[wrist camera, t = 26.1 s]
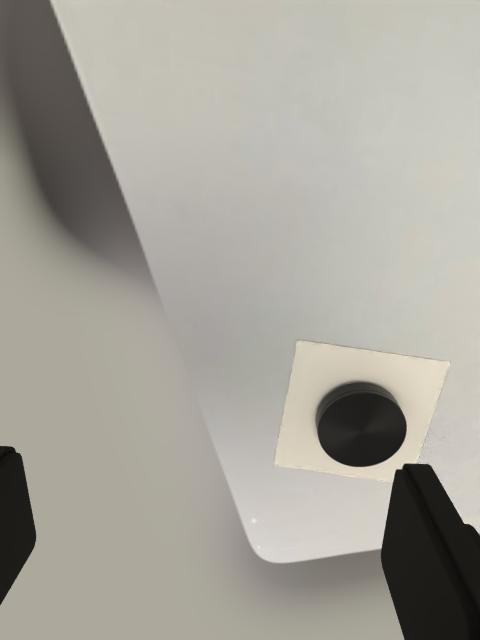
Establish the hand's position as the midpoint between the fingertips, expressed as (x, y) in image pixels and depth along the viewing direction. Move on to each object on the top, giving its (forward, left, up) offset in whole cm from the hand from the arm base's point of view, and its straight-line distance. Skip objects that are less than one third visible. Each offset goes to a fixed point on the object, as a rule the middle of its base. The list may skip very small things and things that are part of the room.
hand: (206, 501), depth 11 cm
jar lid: (+9, -12, -21) cm, 26 cm away
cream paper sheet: (+9, -12, -23) cm, 27 cm away
